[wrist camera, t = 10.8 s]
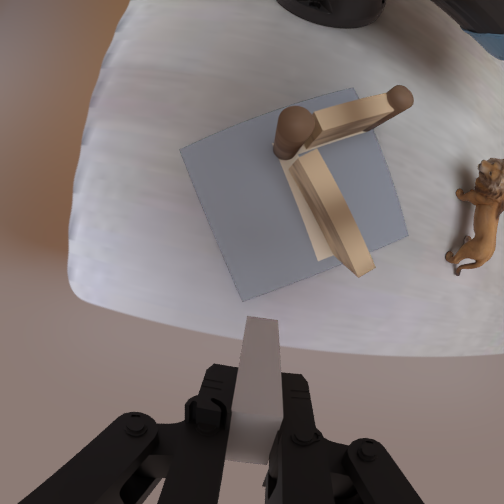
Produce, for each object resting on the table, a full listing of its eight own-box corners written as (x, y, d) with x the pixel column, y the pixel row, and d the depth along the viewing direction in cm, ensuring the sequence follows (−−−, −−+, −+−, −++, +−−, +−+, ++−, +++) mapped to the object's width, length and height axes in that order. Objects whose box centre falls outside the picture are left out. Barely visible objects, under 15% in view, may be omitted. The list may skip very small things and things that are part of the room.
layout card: (351, 89, 25) (353, 87, 25) (406, 234, 28) (408, 235, 28) (181, 150, 28) (179, 149, 27) (243, 299, 31) (242, 301, 30)
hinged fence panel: (288, 169, 27) (297, 158, 19) (302, 161, 26) (317, 148, 19) (334, 255, 28) (358, 277, 20) (347, 248, 28) (375, 267, 20)
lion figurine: (448, 157, 26) (495, 151, 17) (475, 164, 26) (521, 161, 17) (441, 275, 29) (484, 298, 20) (468, 274, 29) (511, 294, 20)
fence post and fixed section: (365, 112, 26) (411, 77, 15) (374, 132, 26) (424, 105, 15) (269, 143, 27) (272, 112, 16) (278, 164, 28) (286, 144, 17)
